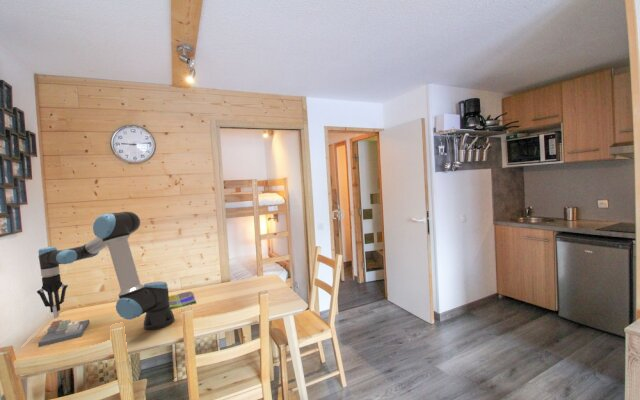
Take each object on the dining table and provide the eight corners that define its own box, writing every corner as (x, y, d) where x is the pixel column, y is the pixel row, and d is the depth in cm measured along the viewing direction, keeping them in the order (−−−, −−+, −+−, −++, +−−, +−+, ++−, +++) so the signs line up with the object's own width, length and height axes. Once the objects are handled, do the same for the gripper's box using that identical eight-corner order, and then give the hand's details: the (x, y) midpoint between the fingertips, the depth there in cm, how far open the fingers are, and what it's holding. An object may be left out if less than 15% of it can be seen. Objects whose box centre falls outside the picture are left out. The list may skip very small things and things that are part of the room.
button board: (81, 336, 156) (80, 329, 156) (38, 346, 148) (37, 339, 148) (89, 322, 174) (88, 316, 174) (51, 331, 166) (50, 324, 166)
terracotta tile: (60, 327, 163) (59, 322, 163) (51, 329, 161) (50, 324, 161) (62, 324, 166) (62, 319, 166) (53, 327, 164) (52, 321, 164)
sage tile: (68, 327, 160) (68, 321, 160) (59, 329, 158) (58, 323, 158) (70, 324, 163) (70, 319, 163) (61, 326, 162) (60, 321, 161)
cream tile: (77, 328, 157) (77, 323, 157) (68, 331, 155) (67, 325, 155) (79, 326, 160) (79, 320, 160) (70, 328, 159) (69, 322, 158)
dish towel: (166, 311, 183) (165, 307, 183) (165, 300, 204) (165, 296, 204) (196, 304, 191) (196, 300, 191) (193, 293, 213) (192, 290, 213)
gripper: (67, 271, 169) (73, 311, 170) (37, 276, 163) (43, 318, 164) (64, 274, 162) (69, 316, 163) (32, 279, 156) (38, 323, 157)
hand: (56, 317), depth 163 cm, fingers closed
